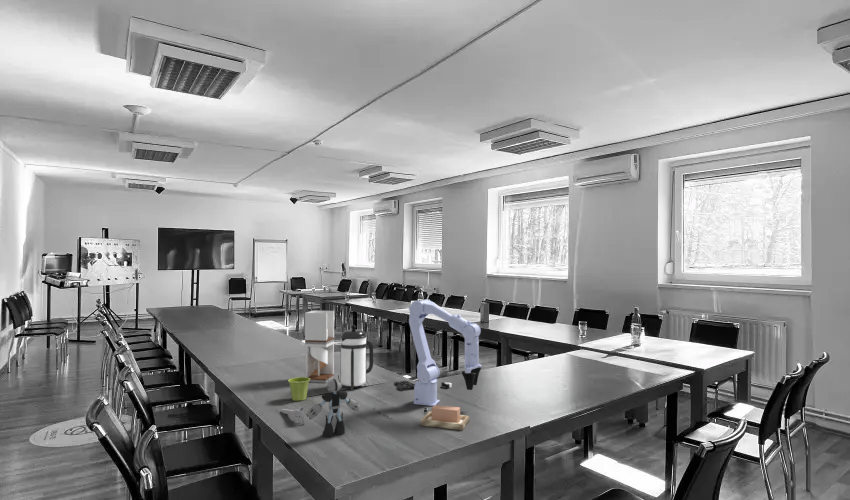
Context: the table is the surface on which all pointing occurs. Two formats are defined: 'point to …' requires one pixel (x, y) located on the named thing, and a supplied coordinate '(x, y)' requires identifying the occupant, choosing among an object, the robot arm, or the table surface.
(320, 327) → the white and brown tower
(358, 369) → the coffee press
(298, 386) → the plant pot
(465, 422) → the wooden tray
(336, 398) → the robot
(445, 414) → the salmon orange block
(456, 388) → the table surface
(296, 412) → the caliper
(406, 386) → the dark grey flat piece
